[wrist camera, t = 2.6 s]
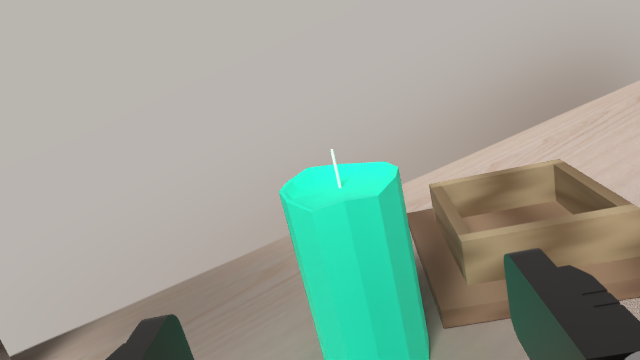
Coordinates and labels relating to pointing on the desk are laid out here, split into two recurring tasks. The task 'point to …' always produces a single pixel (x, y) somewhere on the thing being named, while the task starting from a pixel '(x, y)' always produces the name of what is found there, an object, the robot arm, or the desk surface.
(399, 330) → the candle
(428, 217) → the candle holder
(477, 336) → the desk surface
